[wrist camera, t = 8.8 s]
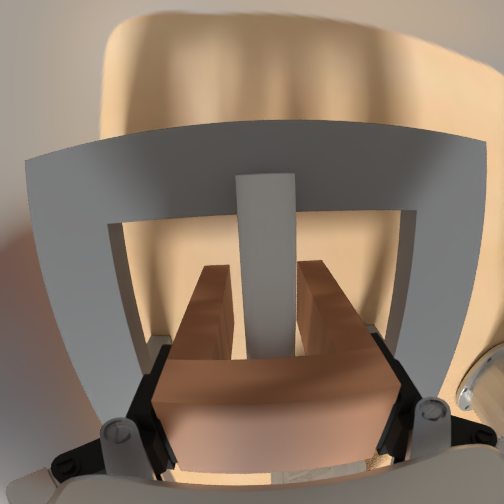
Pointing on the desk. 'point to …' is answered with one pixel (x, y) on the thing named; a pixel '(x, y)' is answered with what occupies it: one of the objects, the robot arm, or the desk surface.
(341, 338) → the u-shaped wooden block
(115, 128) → the desk surface
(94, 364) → the grey square frame
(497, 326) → the desk surface
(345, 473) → the photo printer
